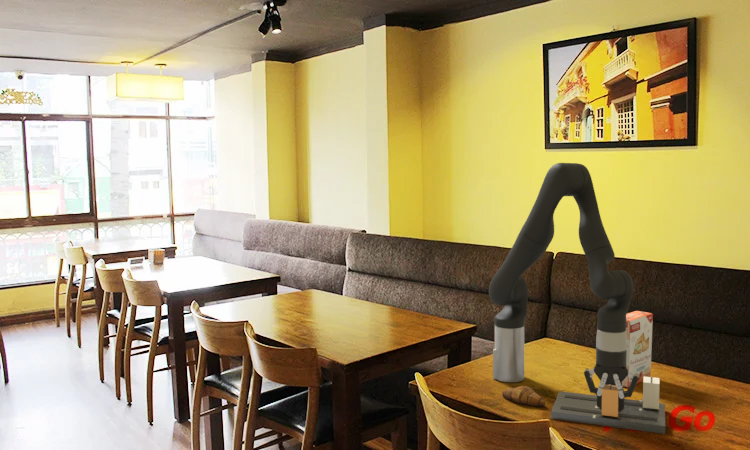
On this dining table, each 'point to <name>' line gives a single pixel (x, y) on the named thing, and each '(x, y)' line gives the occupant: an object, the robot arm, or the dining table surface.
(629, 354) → the cracker box
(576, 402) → the console
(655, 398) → the ivory fader
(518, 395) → the croissant
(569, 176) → the robot arm
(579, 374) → the dining table surface
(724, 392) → the dining table surface
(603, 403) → the orange block
